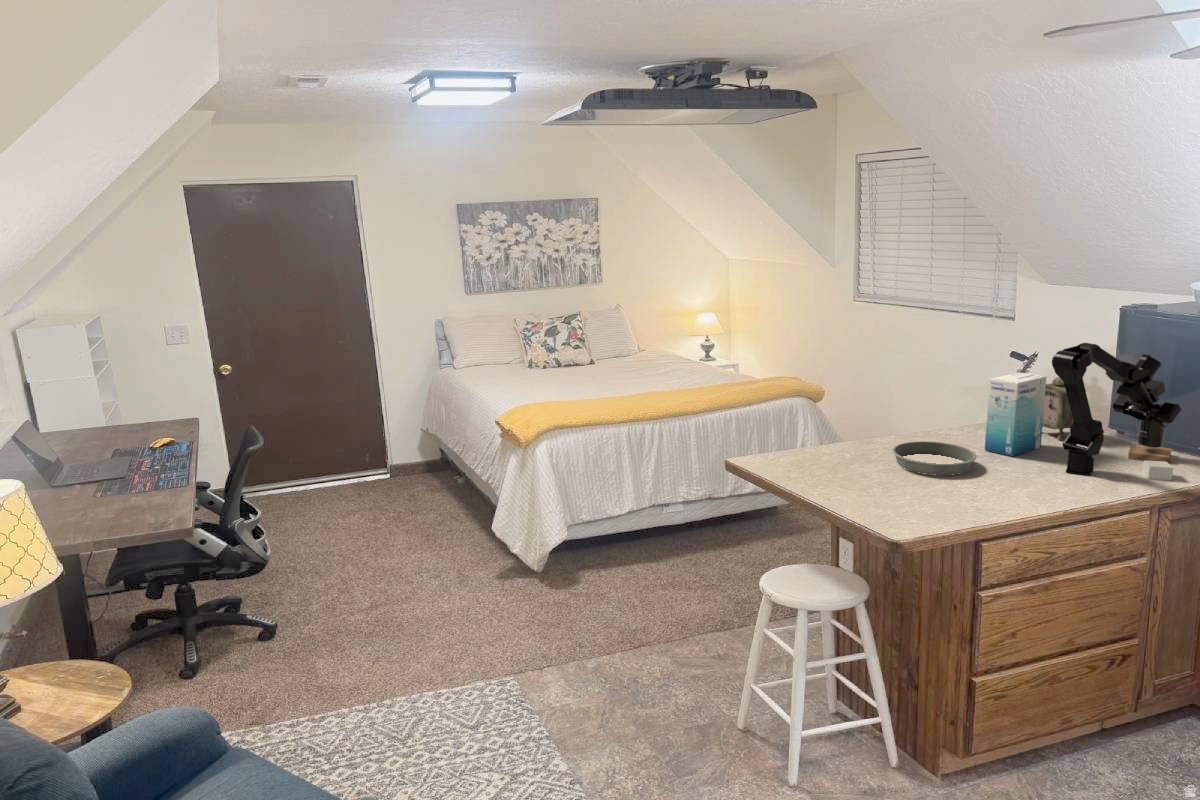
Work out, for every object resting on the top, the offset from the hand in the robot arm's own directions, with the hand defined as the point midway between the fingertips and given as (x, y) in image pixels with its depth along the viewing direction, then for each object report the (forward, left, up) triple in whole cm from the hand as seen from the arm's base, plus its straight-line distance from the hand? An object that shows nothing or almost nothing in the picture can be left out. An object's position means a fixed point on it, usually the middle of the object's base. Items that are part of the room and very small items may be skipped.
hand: (1155, 423), depth 279 cm
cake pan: (-57, -42, -11) cm, 71 cm away
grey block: (+2, -22, -11) cm, 25 cm away
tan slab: (-1, -1, -11) cm, 11 cm away
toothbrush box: (-39, -12, -11) cm, 42 cm away
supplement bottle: (-1, -1, -7) cm, 7 cm away
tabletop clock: (-29, +12, -11) cm, 33 cm away
